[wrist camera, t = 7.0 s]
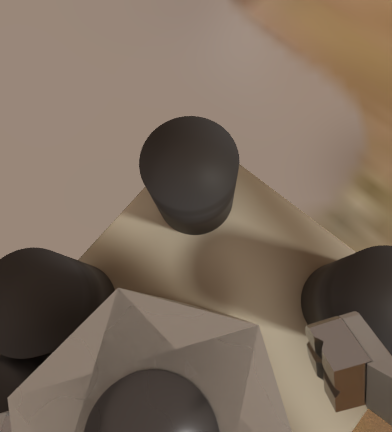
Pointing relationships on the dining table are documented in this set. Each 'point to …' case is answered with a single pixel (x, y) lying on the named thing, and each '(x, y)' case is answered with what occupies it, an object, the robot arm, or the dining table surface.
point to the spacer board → (203, 269)
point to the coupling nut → (153, 374)
